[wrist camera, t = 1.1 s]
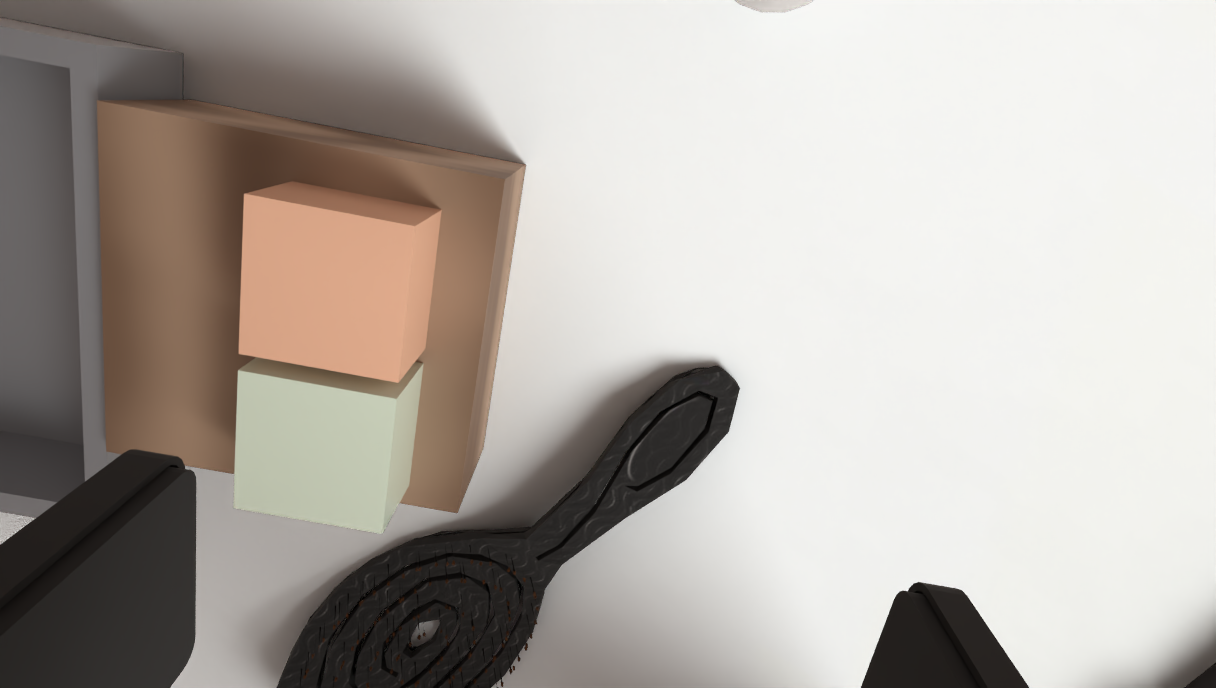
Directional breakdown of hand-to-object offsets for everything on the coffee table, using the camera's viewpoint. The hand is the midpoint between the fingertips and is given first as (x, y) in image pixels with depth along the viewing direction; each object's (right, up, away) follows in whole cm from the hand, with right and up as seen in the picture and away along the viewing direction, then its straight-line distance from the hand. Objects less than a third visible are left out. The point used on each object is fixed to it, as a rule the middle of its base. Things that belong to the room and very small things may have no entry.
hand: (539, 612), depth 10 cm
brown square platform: (-9, +6, +19) cm, 22 cm away
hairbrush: (-3, -5, +23) cm, 24 cm away
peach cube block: (-7, +6, +13) cm, 16 cm away
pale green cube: (-8, +1, +15) cm, 17 cm away
